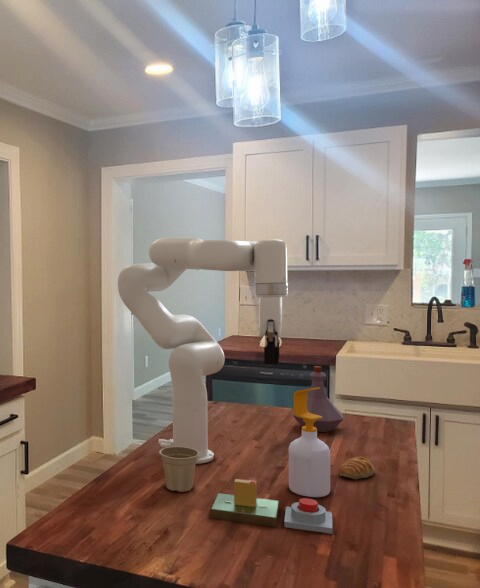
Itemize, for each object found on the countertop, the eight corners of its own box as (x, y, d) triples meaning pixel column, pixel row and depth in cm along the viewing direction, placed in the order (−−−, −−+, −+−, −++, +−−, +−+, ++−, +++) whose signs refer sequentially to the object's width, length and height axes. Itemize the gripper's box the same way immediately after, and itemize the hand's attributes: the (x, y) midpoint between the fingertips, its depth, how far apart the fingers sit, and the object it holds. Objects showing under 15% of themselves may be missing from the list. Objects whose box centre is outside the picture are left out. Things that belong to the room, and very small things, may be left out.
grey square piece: (284, 527, 116) (284, 512, 116) (286, 511, 124) (286, 497, 124) (332, 534, 113) (332, 519, 113) (331, 517, 121) (331, 503, 120)
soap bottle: (311, 501, 129) (311, 392, 128) (280, 487, 137) (280, 385, 136) (338, 493, 133) (339, 387, 132) (307, 480, 141) (307, 381, 140)
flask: (303, 418, 199) (303, 361, 198) (353, 427, 188) (353, 366, 187) (282, 428, 187) (281, 367, 186) (333, 438, 176) (333, 373, 175)
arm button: (298, 512, 117) (298, 503, 117) (299, 505, 121) (299, 497, 121) (317, 514, 116) (317, 506, 116) (317, 507, 119) (317, 499, 119)
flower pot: (175, 477, 145) (175, 443, 145) (207, 487, 138) (206, 451, 138) (151, 487, 139) (151, 452, 138) (183, 498, 132) (183, 461, 131)
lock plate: (211, 518, 121) (211, 507, 121) (218, 501, 130) (217, 492, 130) (276, 527, 117) (276, 516, 116) (278, 509, 125) (278, 499, 125)
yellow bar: (234, 504, 123) (234, 480, 123) (235, 501, 125) (235, 477, 124) (256, 507, 121) (255, 482, 121) (256, 504, 123) (256, 480, 123)
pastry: (358, 483, 139) (358, 467, 139) (331, 476, 145) (331, 460, 144) (376, 474, 145) (376, 459, 145) (350, 467, 150) (350, 452, 150)
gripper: (256, 289, 150) (258, 355, 150) (252, 292, 133) (254, 366, 134) (287, 289, 147) (288, 356, 148) (287, 291, 131) (288, 366, 131)
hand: (272, 360), depth 141 cm, fingers open, 9 cm apart
